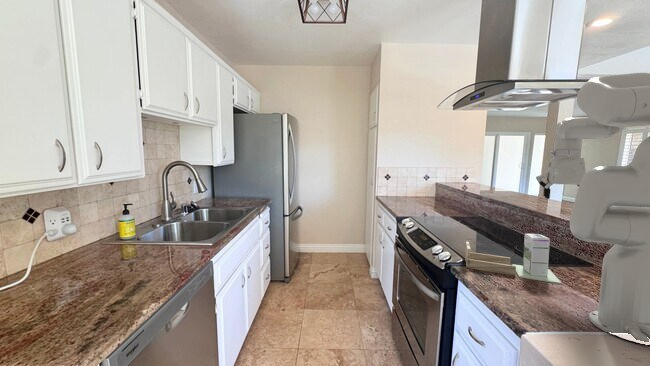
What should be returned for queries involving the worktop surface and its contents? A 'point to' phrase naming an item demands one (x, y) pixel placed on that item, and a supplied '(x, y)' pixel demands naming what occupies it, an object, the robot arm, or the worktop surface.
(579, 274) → the worktop surface
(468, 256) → the frame
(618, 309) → the robot arm
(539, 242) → the syrup box
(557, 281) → the mat
